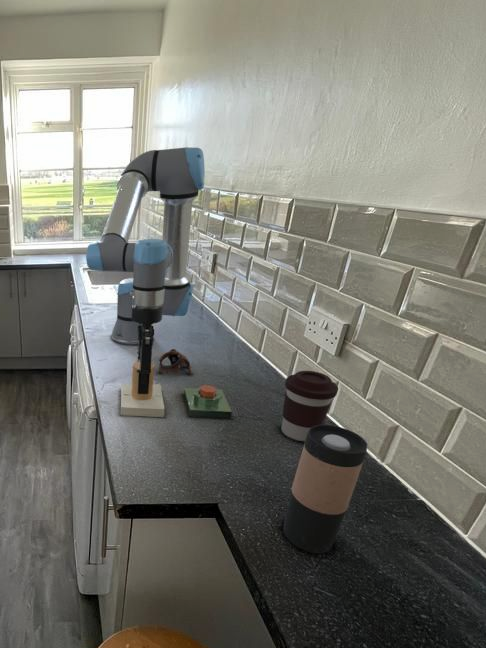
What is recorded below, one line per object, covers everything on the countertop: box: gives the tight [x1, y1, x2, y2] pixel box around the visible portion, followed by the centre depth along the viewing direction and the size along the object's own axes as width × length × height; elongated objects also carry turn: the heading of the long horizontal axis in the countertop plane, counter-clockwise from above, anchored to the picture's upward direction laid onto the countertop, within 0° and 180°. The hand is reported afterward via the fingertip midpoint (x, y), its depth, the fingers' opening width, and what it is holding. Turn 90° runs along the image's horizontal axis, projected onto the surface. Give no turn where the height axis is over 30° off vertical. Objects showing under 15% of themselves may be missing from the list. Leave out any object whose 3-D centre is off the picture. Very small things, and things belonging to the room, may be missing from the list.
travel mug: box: [282, 424, 368, 554], centre depth 64 cm, size 8×8×20 cm
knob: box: [131, 360, 155, 400], centre depth 108 cm, size 6×6×9 cm
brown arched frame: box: [158, 348, 192, 376], centre depth 127 cm, size 12×10×8 cm
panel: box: [120, 382, 166, 418], centre depth 110 cm, size 14×11×3 cm
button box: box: [183, 387, 232, 420], centre depth 107 cm, size 12×10×4 cm
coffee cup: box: [280, 370, 339, 442], centre depth 92 cm, size 10×10×15 cm
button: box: [199, 384, 217, 397], centre depth 106 cm, size 4×4×2 cm
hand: (142, 387), depth 109 cm, fingers closed on knob, 6 cm apart
